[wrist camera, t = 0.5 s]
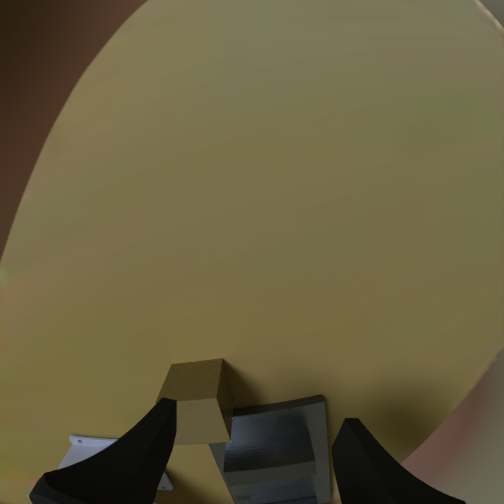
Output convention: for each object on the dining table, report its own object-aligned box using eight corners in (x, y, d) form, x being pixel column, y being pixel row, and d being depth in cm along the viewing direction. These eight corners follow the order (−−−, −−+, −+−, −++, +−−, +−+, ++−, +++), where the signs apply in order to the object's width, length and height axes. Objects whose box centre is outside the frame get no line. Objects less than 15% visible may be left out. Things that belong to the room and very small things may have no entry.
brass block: (185, 403, 23) (174, 444, 18) (171, 363, 23) (155, 402, 18) (233, 399, 23) (230, 441, 18) (222, 357, 22) (216, 398, 18)
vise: (240, 507, 27) (239, 537, 22) (200, 412, 23) (192, 449, 19) (329, 495, 26) (336, 524, 22) (322, 394, 23) (334, 430, 19)
